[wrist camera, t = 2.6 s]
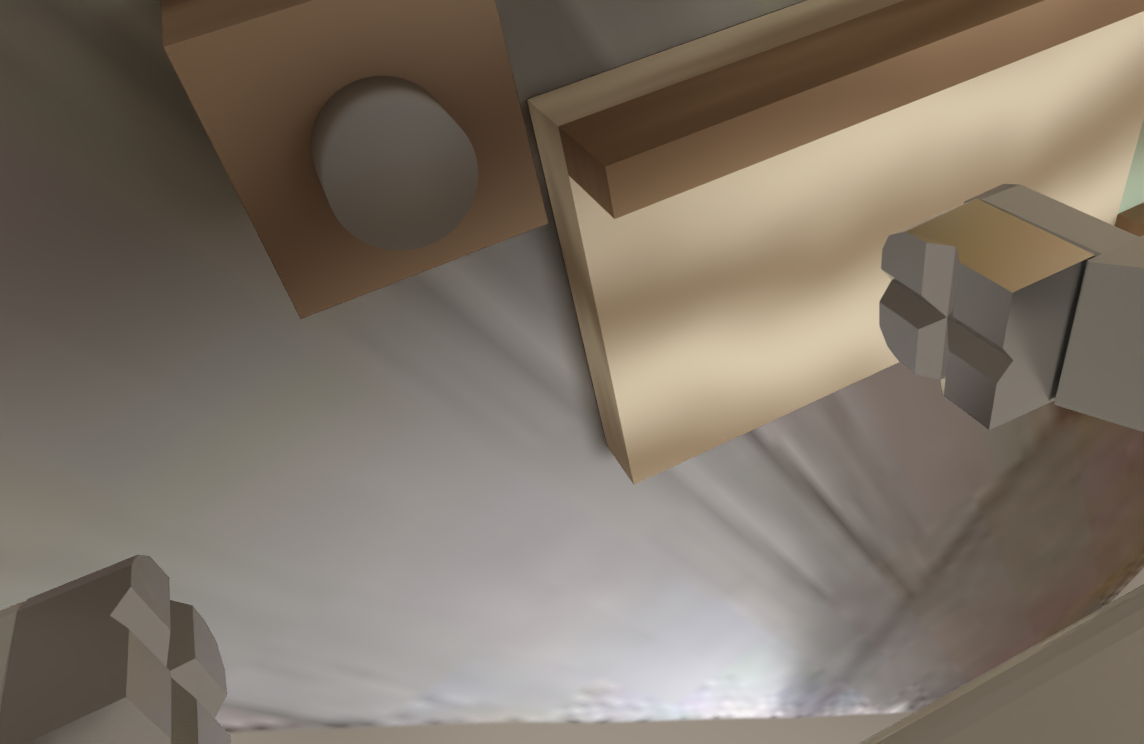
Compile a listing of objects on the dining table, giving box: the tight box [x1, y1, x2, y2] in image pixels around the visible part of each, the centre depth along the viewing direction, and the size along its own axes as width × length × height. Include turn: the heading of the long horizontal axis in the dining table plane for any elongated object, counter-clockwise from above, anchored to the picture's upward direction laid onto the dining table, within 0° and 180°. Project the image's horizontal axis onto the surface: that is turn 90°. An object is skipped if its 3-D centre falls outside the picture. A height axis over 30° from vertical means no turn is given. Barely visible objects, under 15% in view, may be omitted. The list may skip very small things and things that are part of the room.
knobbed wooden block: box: [161, 0, 548, 319], centre depth 15 cm, size 5×5×6 cm
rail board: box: [527, 0, 1144, 484], centre depth 24 cm, size 12×26×4 cm, turn 102°
